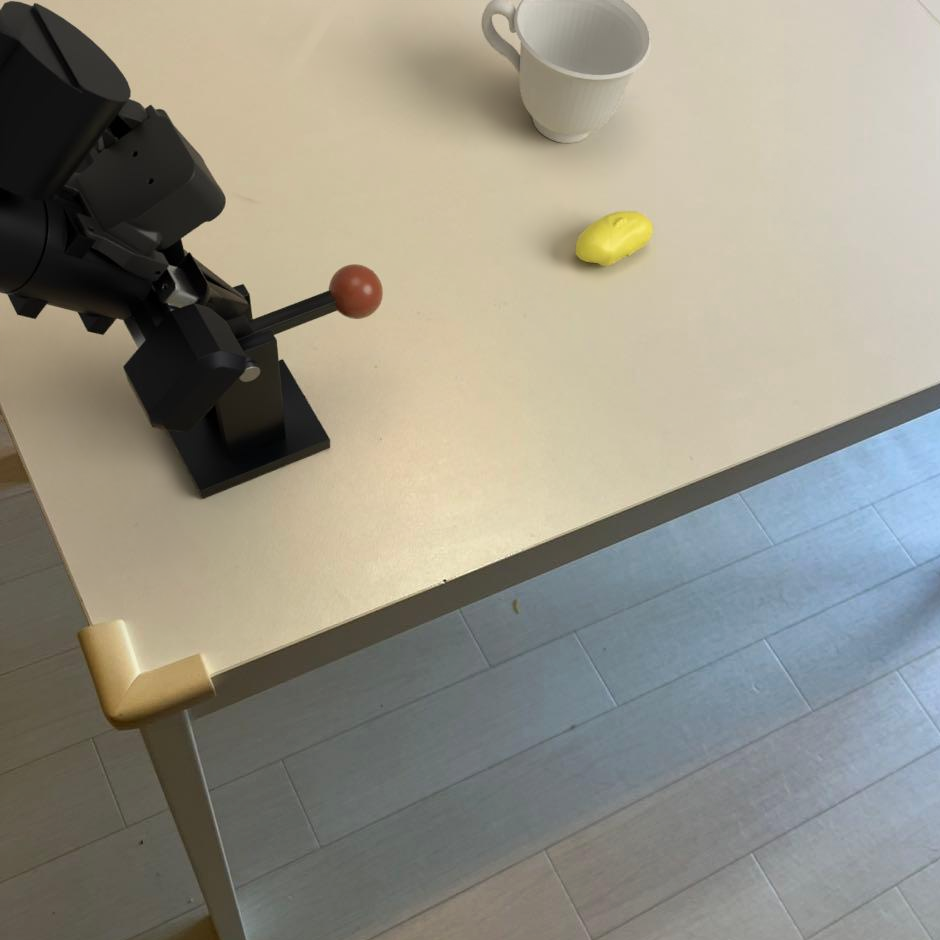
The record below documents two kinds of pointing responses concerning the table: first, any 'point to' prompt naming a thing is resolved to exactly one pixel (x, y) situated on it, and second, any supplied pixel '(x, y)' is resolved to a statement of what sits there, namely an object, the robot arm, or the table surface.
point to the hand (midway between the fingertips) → (242, 306)
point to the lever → (320, 304)
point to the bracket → (251, 422)
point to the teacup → (571, 59)
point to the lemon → (614, 237)
